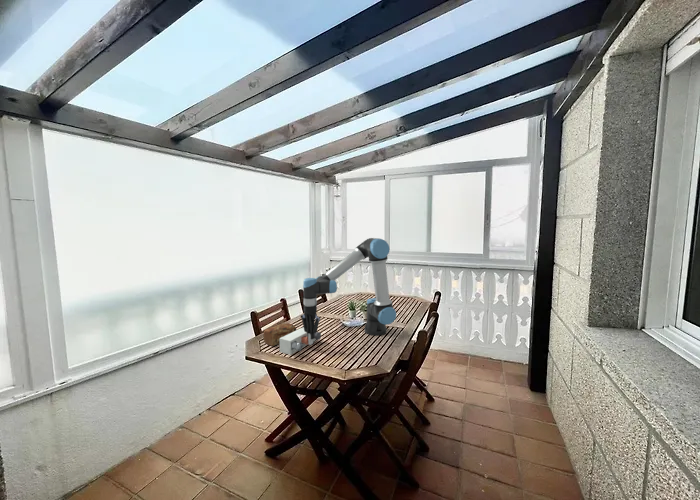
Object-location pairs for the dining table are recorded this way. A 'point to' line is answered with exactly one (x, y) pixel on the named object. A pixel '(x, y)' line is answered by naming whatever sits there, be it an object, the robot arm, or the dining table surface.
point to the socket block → (292, 337)
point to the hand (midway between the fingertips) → (310, 344)
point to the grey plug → (317, 335)
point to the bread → (277, 333)
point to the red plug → (304, 340)
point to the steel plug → (297, 346)
